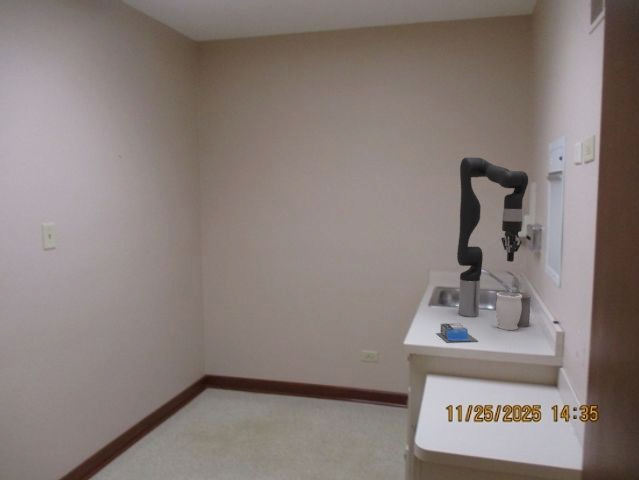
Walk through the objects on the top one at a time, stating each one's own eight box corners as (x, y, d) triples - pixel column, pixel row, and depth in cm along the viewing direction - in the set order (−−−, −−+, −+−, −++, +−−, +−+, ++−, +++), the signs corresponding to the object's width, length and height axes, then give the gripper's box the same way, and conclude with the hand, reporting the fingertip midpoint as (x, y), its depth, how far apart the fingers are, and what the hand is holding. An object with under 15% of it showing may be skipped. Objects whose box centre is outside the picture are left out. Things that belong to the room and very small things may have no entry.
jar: (507, 332, 202) (508, 297, 200) (489, 325, 211) (491, 292, 209) (525, 329, 206) (527, 295, 204) (508, 323, 215) (509, 290, 214)
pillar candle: (506, 320, 221) (508, 288, 219) (529, 322, 217) (531, 290, 215) (505, 325, 212) (507, 292, 210) (529, 328, 208) (531, 294, 206)
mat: (436, 334, 199) (436, 333, 199) (466, 333, 200) (466, 332, 200) (446, 342, 187) (446, 341, 187) (478, 341, 189) (478, 340, 189)
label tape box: (460, 323, 200) (471, 331, 188) (460, 332, 201) (471, 341, 188) (440, 323, 200) (449, 331, 188) (440, 332, 200) (449, 341, 188)
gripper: (529, 221, 189) (527, 263, 191) (512, 218, 202) (510, 258, 204) (511, 221, 188) (509, 264, 190) (496, 218, 201) (494, 258, 203)
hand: (510, 261), depth 197 cm, fingers closed
